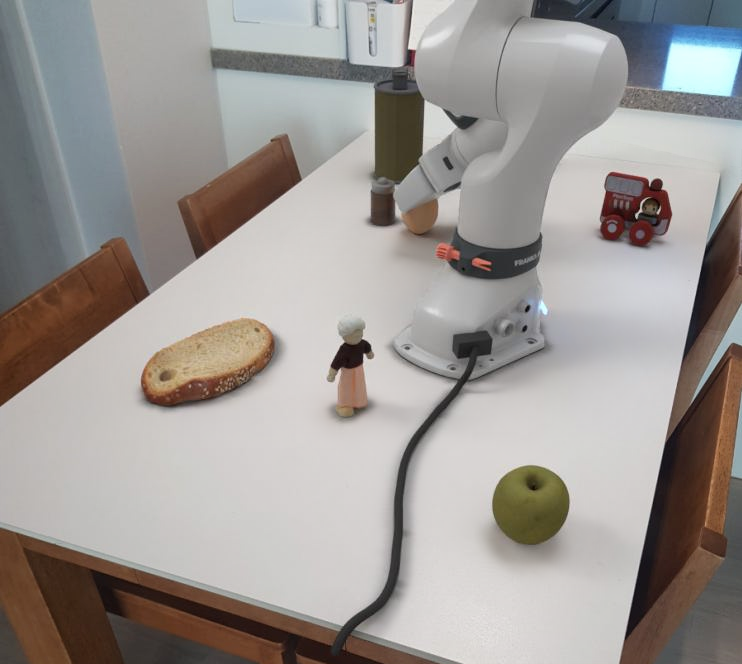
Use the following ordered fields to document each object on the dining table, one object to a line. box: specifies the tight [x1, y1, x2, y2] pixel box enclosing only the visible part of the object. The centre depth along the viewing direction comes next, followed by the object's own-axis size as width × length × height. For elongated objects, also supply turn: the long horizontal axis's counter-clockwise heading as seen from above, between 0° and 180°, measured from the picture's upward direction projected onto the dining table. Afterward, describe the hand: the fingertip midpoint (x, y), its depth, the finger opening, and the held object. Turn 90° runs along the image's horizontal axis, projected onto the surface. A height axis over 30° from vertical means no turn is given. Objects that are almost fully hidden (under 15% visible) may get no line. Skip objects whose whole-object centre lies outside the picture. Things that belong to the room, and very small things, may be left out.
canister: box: [373, 67, 426, 185], centre depth 153 cm, size 11×10×20 cm
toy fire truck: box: [599, 171, 673, 247], centre depth 132 cm, size 7×12×10 cm, turn 60°
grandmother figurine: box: [326, 314, 375, 418], centre depth 91 cm, size 8×4×13 cm, turn 148°
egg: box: [400, 198, 439, 235], centre depth 134 cm, size 7×7×9 cm
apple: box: [491, 464, 571, 546], centre depth 76 cm, size 8×8×7 cm
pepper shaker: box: [370, 177, 396, 227], centre depth 138 cm, size 5×5×8 cm
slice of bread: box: [140, 317, 276, 406], centre depth 101 cm, size 18×18×4 cm
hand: (416, 203), depth 133 cm, fingers closed on egg, 6 cm apart
